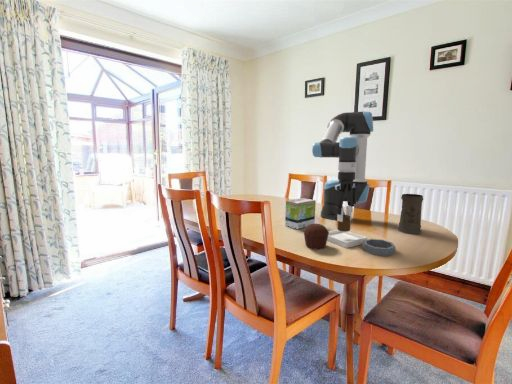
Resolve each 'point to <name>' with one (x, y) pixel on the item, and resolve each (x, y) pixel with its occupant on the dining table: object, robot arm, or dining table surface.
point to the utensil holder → (344, 223)
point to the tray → (345, 238)
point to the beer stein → (411, 214)
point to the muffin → (316, 236)
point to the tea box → (300, 213)
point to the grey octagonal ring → (370, 243)
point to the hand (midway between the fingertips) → (344, 220)
